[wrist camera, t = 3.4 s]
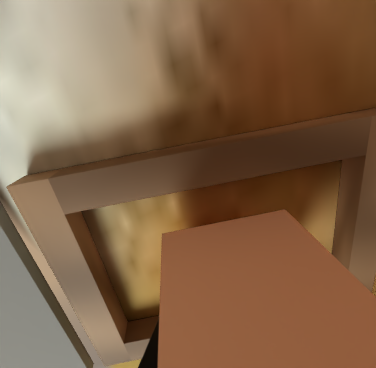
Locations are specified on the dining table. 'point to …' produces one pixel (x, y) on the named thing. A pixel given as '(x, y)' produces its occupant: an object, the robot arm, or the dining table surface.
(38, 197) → the holder
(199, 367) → the block
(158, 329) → the robot arm
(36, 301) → the mat
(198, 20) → the dining table surface
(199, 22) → the dining table surface
